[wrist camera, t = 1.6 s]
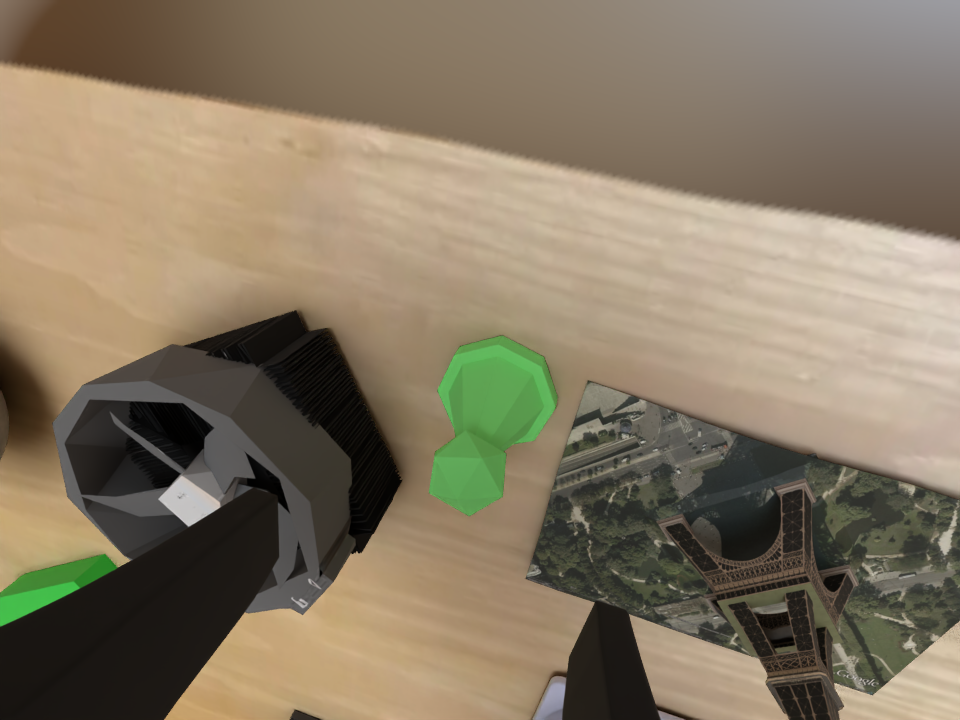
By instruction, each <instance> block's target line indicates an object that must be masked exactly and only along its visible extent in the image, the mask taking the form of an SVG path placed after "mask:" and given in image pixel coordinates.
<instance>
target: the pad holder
mask: <svg viewBox="0 0 960 720" xmlns="http://www.w3.org/2000/svg"><path fill="white" fill-rule="evenodd" d="M290 720H319V719H316V718H314V717H311V716H308V715H306V714H303V713H301V712H298V711H294V712H293V714H292V716H291V719H290Z"/></svg>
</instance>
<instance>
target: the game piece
mask: <svg viewBox="0 0 960 720" xmlns="http://www.w3.org/2000/svg"><path fill="white" fill-rule="evenodd" d="M437 391H438V393H439V396H440V398H441V400H442V402H443V405H444V407H445V409H446V411H447V414H448V416H449V418H450V421H451V423H452V425H453V427H454V430H455V438H454V439H452V440H451V441H450V442H448V443H447V444H445V445H444V446H443V447H441V448H440V449H438V450H437V451H435V456H434V462H433V469H432V475H431V482H430V488H429V493H430V494H431V495H433V496H435V497H436V498H438V499H440V500H442V501H443V502H445V503H447V504H449V505H450V506H452V507H454V508H455V509H457V510H459V511H461V512H462V513H464V514H466V515H468V516H471V515H472V514H474V513H476V512H477V511H479V510H481V509H483V508H484V507H486V506H488V505H489V504H491V503H493V502H495V501H496V500H498V499H500V498H501V497H503V488H504V476H505V463H506V453H505V452H504V451H505V450H506V449H508V448H509V447H510V446H512V445H513V444H518V443H524V442H530V441H534V440H535V439H536V437H537V436H538V434H539V433H540V431H541V430H542V428H543V427H544V425H545V423H546V422H547V420H548V419H549V417H550V416H551V414H552V413H553V411H554V410H555V408H556V404H557V398H558V396H557V394H556V391H555V388H554V385H553V382H552V379H551V376H550V373H549V370H548V367H547V364H546V361H545V358H544V357H543V356H541V355H539V354H537V353H535V352H533V351H531V350H529V349H528V348H526V347H524V346H522V345H520V344H518V343H516V342H514V341H512V340H510V339H508V338H506V337H504V336H503V335H502V336H498V337H494V338H490V339H486V340H482V341H478V342H474V343H471V344H467V345H463V346H460V347H459V349H458V350H457V352H456V353H455V355H454V357H453V359H452V361H451V363H450V365H449V367H448V369H447V371H446V373H445V375H444V377H443V380H442V382H441V384H440V386H439V388H438V390H437Z"/></svg>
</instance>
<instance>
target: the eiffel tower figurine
mask: <svg viewBox="0 0 960 720" xmlns="http://www.w3.org/2000/svg"><path fill="white" fill-rule="evenodd" d="M526 579H527V580H530V581H533V582H536V583H539V584H541V585H544V586H547V587H550V588H553V589H555V590H558V591H561V592H564V593H567V594H571V595H574V596H577V597H580V598H583V599H586V600H589V601H592V602H595V601H596V600H598V601H601V602H604V603H607V604H610V605H613V606H616V607H619V608H622V609H625V610H626V611H627V613H628V614H631V615H633V616H636V617H639V618H642V619H645V620H647V621H650V622H653V623H656V624H659V625H661V626H664V627H667V628H670V629H673V630H676V631H679V632H681V633H684V634H687V635H690V636H693V637H696V638H699V639H702V640H705V641H708V642H711V643H714V644H717V645H720V646H723V647H725V648H728V649H731V650H734V651H737V652H740V653H743V654H746V655H749V656H751V657H755V658H758V659H760V661H761V663H762V665H763V667H764V668H765V670H766V672H767V675H768V677H767V680H766V681H765V683H766V685H767V687H768V688H769V690H770V692H771V693H772V695H773V696H774V698H775V699H776V701H777V703H778V704H779V706H780V707H781V709H782V711H783V712H784V713H786V714H787V716H788V718H789V720H840V718H839V713H838V711H840V710H841V709H842V708H843V707H844V705H843V703H842V701H841V699H840V698H839V696H838V694H837V692H836V691H835V689H834V683H837V684H840V685H843V686H846V687H849V688H852V689H855V690H858V691H861V692H864V693H867V694H870V695H873V694H875V693H876V692H877V691H878V690H879V689H880V688H881V687H883V686H884V685H885V684H886V683H887V682H888V681H890V680H891V679H892V678H893V677H894V676H895V675H897V674H898V673H899V672H900V671H901V670H902V669H903V668H905V667H906V666H907V665H908V664H909V663H910V662H912V661H913V660H914V659H915V658H916V657H918V656H919V655H920V654H921V653H922V652H923V651H925V650H926V649H927V648H928V647H929V646H930V645H932V644H933V643H934V642H935V641H936V640H938V639H939V638H940V637H941V636H942V635H943V634H945V633H946V632H947V631H948V630H949V629H950V628H952V627H953V626H954V625H955V624H956V623H958V622H959V621H960V501H959V500H956V499H953V498H950V497H947V496H944V495H941V494H938V493H935V492H932V491H929V490H926V489H923V488H920V487H917V486H914V485H911V484H908V483H904V482H901V481H897V480H893V479H889V478H886V477H882V476H878V475H875V474H871V473H867V472H863V471H860V470H856V469H852V468H849V467H845V466H842V465H838V464H834V463H831V462H827V461H824V460H820V459H818V458H817V456H816V454H815V453H814V454H811V455H807V456H806V455H803V454H800V453H796V452H793V451H790V450H786V449H783V448H780V447H776V446H773V445H769V444H766V443H763V442H760V441H757V440H754V439H751V438H749V437H746V436H743V435H740V434H737V433H734V432H731V431H728V430H725V429H722V428H719V427H716V426H713V425H711V424H708V423H705V422H702V421H700V420H697V419H694V418H691V417H689V416H686V415H683V414H680V413H677V412H675V411H672V410H669V409H667V408H664V407H661V406H658V405H656V404H653V403H650V402H647V401H645V400H642V399H639V398H636V397H634V396H631V395H628V394H625V393H622V392H619V391H617V390H614V389H611V388H608V387H605V386H602V385H599V384H596V383H594V382H591V381H588V382H587V385H586V388H585V391H584V394H583V397H582V400H581V403H580V406H579V409H578V412H577V415H576V418H575V421H574V424H573V427H572V430H571V433H570V436H569V439H568V442H567V445H566V448H565V451H564V454H563V457H562V460H561V463H560V466H559V469H558V472H557V476H556V479H555V483H554V486H553V489H552V493H551V497H550V500H549V504H548V508H547V511H546V515H545V519H544V523H543V526H542V530H541V533H540V536H539V540H538V543H537V546H536V549H535V552H534V555H533V558H532V561H531V564H530V567H529V570H528V573H527V576H526Z"/></svg>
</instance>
